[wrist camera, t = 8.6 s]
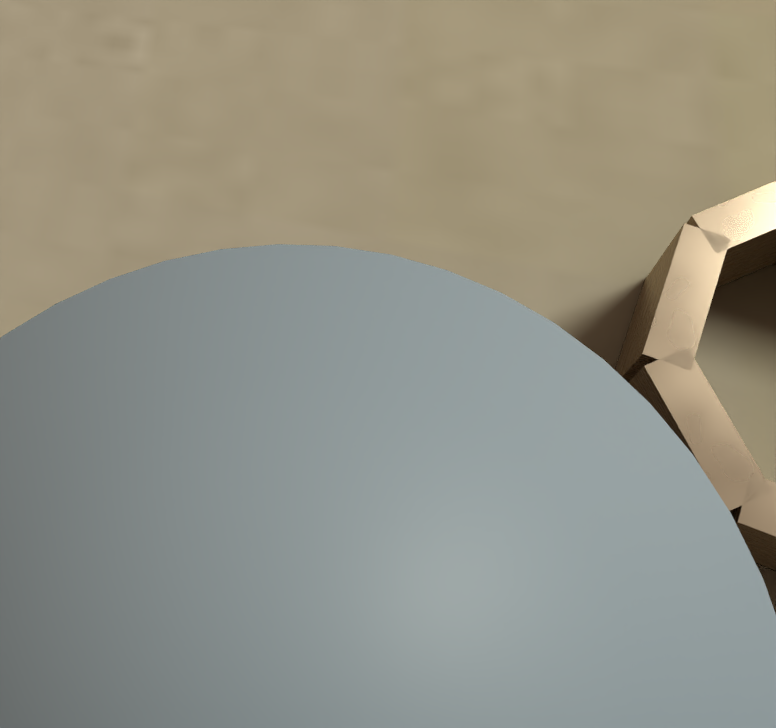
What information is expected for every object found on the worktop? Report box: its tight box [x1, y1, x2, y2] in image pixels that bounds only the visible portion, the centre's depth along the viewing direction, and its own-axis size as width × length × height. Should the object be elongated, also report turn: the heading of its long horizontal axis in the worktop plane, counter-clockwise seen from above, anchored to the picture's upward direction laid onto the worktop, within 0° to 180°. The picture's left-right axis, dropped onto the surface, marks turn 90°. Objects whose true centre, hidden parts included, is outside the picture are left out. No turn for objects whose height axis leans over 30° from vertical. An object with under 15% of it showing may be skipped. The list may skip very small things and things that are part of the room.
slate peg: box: [0, 244, 776, 728], centre depth 9 cm, size 4×4×12 cm
